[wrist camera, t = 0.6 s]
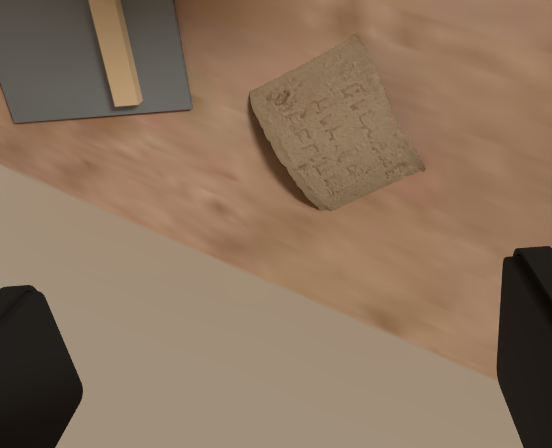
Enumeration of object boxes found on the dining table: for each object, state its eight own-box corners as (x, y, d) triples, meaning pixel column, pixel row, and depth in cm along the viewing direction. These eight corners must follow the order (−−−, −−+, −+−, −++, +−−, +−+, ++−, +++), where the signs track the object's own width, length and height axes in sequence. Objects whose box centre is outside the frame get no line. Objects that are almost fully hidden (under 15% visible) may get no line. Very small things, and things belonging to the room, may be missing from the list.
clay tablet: (429, 171, 45) (434, 183, 42) (326, 221, 48) (326, 235, 45) (349, 18, 39) (351, 22, 37) (241, 86, 43) (235, 94, 40)
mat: (-68, -122, 37) (-83, -125, 36) (145, -154, 35) (137, -158, 34) (16, 121, 45) (6, 127, 44) (192, 107, 43) (188, 113, 42)
